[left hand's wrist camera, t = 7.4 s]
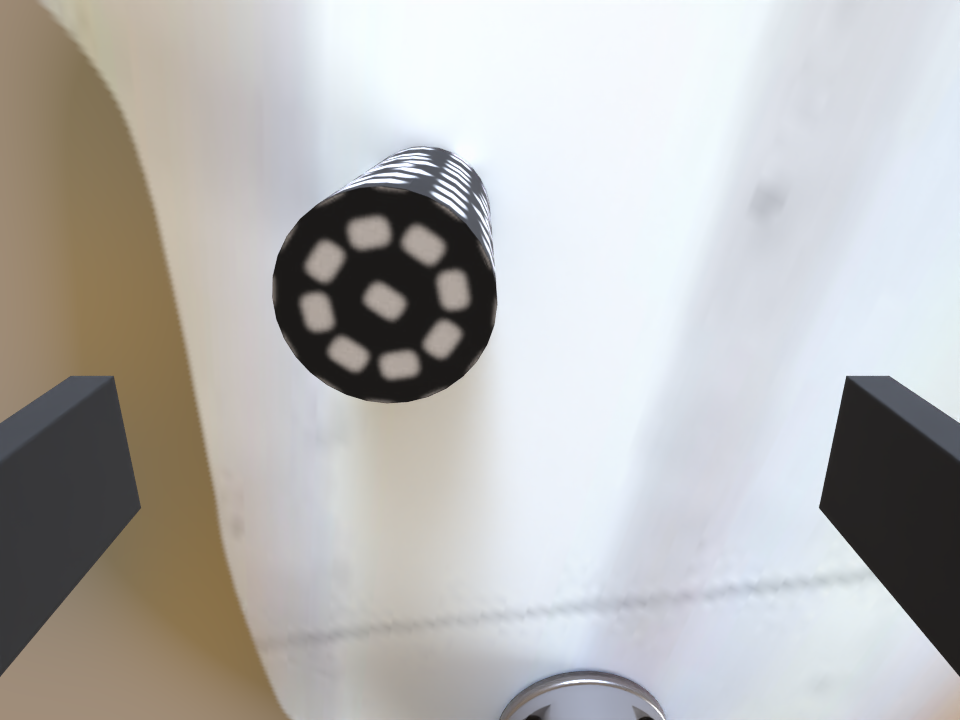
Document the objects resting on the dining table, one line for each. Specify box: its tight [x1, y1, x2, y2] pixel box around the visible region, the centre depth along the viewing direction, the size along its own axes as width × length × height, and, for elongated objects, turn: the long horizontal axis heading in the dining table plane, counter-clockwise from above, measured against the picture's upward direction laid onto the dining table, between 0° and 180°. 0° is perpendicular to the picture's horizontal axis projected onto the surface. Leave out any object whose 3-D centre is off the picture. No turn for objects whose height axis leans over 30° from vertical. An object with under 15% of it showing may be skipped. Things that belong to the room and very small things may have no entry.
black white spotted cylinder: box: [272, 146, 497, 403], centre depth 34 cm, size 8×8×20 cm
